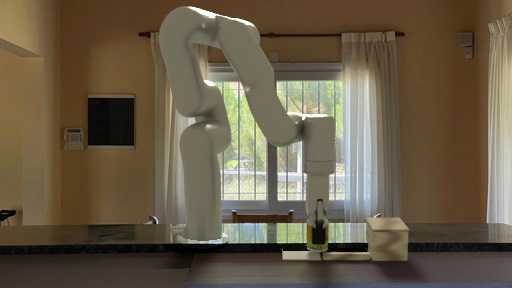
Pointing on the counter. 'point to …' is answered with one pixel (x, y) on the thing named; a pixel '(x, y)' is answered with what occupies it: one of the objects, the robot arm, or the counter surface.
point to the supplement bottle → (309, 236)
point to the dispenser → (379, 242)
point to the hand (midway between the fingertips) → (317, 238)
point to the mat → (301, 255)
